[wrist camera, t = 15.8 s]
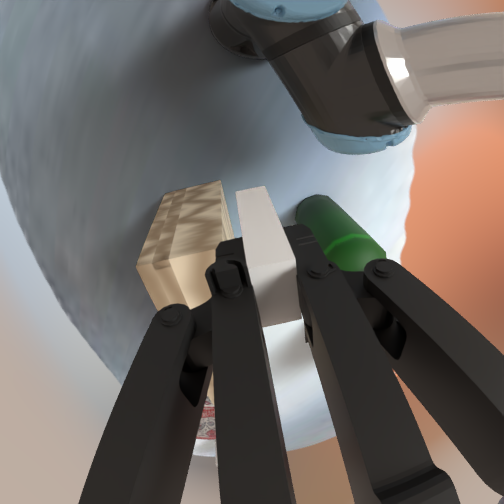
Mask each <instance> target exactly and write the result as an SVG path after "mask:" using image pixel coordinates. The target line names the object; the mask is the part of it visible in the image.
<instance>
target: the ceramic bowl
mask: <svg viewBox="0 0 504 504" xmlns="http://www.w3.org/2000/svg"><path fill="white" fill-rule="evenodd" d="M196 439H216V430H215V410H214V405H213V403H212V402H211V400H210V399H209V398H206V401H205V405H204V409H203V413H202V417H201V421H200V425H199V429H198V433H197V437H196Z"/></svg>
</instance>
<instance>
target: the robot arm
mask: <svg viewBox="0 0 504 504" xmlns="http://www.w3.org/2000/svg"><path fill="white" fill-rule="evenodd" d="M209 24H210V28H211V31H212V33H213V35H214V37H215V38H216V40H217V41H218V42H219V43H220V44H221V45H222V46H223V47H224V48H226V49H227V50H229V51H230V52H232V53H234V54H236V55H239V56H242V57H246V58H251V59H267V60H268V61H269V64H270V65H271V66H272V68H273V69H274V71H275V72H276V74H277V75H278V77H279V78H280V80H281V81H282V83H283V84H284V86H285V87H286V89H287V91H288V92H289V94H290V95H291V97H292V98H293V100H294V102H295V103H296V105H297V106H298V108H299V110H300V111H301V113H302V114H301V115H302V118H303V120H304V122H305V123H306V124H307V125H308V127H310V128H311V130H312V131H313V133H314V135H315V136H316V138H317V139H318V141H319V142H320V143H321V144H322V145H323V146H324V147H326V148H327V149H329V150H331V151H334V152H337V153H341V154H349V155H360V154H370V153H375V152H379V151H383V150H385V149H386V146H396V145H398V144H399V143H401V142H402V141H404V140H405V139H406V138H407V137H408V136H409V134H410V132H411V126H412V125H413V124H420V123H422V122H423V120H424V118H425V116H426V115H427V113H428V111H429V109H431V108H432V107H434V106H440V105H449V104H457V103H465V102H475V101H488V100H503V99H504V12H496V13H483V14H474V15H466V16H459V17H453V18H447V19H441V20H436V21H431V22H427V23H422V24H418V25H413V26H409V27H405V28H398V27H395V26H393V25H391V24H389V23H387V22H385V21H382V20H376V21H374V22H370V23H368V24H364V23H363V21H362V20H361V18H360V17H359V15H358V13H357V12H356V10H355V9H354V7H353V5H352V4H351V2H350V1H349V0H212V2H211V5H210V8H209ZM235 193H236V200H237V206H238V213H239V219H240V225H241V231H242V237H240V238H235V239H230V240H226V241H221V242H220V243H219V244H218V246H217V248H216V249H215V257H216V258H215V262H214V263H213V264H211V265H210V266H209V267H208V268H207V269H206V272H205V278H206V280H207V283H208V286H209V289H210V292H211V295H212V297H211V298H210V299H209V300H208V301H206V302H205V303H203V304H201V305H199V306H197V307H195V308H193V309H189V307H188V306H186V305H185V304H179V303H176V304H170V305H168V306H165V307H163V308H162V309H161V310H159V311H158V312H157V313H156V315H155V316H154V317H153V319H152V322H151V324H150V326H149V328H148V330H147V332H146V334H145V336H144V339H143V341H142V343H141V345H140V347H139V350H138V352H137V354H136V356H135V358H134V361H133V363H132V365H131V367H130V370H129V372H128V374H127V377H126V379H125V381H124V383H123V386H122V388H121V391H120V393H119V395H118V398H117V400H116V402H115V405H114V407H113V410H112V412H111V415H110V417H109V420H108V422H107V425H106V427H105V430H104V433H103V435H102V438H101V440H100V443H99V446H98V448H97V451H96V454H95V456H94V459H93V462H92V465H91V468H90V470H89V473H88V476H87V479H86V482H85V485H84V488H83V491H82V494H81V497H80V500H79V504H180V502H181V498H182V494H183V490H184V486H185V482H186V477H187V474H188V469H189V465H190V461H191V457H192V453H193V449H194V445H195V441H196V437H197V433H198V429H199V425H200V421H201V417H202V413H203V409H204V405H205V401H206V397H207V393H208V389H209V385H210V381H211V377H212V373H213V387H214V410H215V430H216V447H217V462H218V474H219V488H220V499H221V504H296V499H295V494H294V489H293V484H292V479H291V473H290V469H289V464H288V458H287V453H286V448H285V442H284V437H283V432H282V427H281V422H280V416H279V411H278V406H277V401H276V395H275V390H274V385H273V380H272V374H271V369H270V364H269V359H268V353H267V348H266V343H265V338H264V334H263V329H262V327H267V326H272V325H277V324H281V323H286V322H290V321H295V320H299V319H302V316H303V319H304V327H305V340H306V343H307V342H309V345H310V348H311V351H312V355H313V358H314V361H315V364H316V368H317V371H318V374H319V378H320V381H321V384H322V388H323V391H324V394H325V398H326V401H327V404H328V408H329V411H330V415H331V418H332V422H333V425H334V428H335V432H336V436H337V439H338V442H339V446H340V450H341V453H342V457H343V461H344V464H345V468H346V471H347V475H348V479H349V483H350V486H351V490H352V494H353V498H354V502H355V504H460V501H459V498H458V495H457V492H456V489H455V486H454V484H453V482H452V480H451V478H450V477H449V475H448V474H447V473H446V472H445V471H443V470H441V469H439V468H437V467H436V466H435V464H434V463H433V461H432V459H431V457H430V454H429V451H428V449H427V446H426V444H425V441H424V439H423V436H422V434H421V431H420V429H419V427H418V424H417V422H416V420H415V417H414V415H413V413H412V410H411V408H410V406H409V404H408V401H407V399H406V397H405V395H404V392H403V390H402V388H401V386H400V384H399V382H398V380H397V377H396V375H395V373H394V371H395V372H396V374H397V375H398V376H399V377H400V378H401V380H402V381H403V382H404V383H405V384H406V385H407V387H408V388H409V389H410V390H411V392H412V393H413V394H414V395H415V396H416V398H417V399H418V400H419V401H420V402H421V403H422V405H423V406H424V407H425V409H426V410H427V411H428V412H429V414H430V415H431V416H432V417H433V418H434V420H435V421H436V422H437V423H438V425H439V426H440V427H441V428H442V430H443V431H444V432H445V433H446V435H447V436H448V437H449V438H450V440H451V441H452V442H453V443H454V445H455V446H456V447H457V449H458V450H459V451H460V452H461V454H462V455H463V456H464V458H465V459H466V460H467V462H468V463H469V464H470V465H471V467H472V468H473V469H474V471H475V472H476V473H477V475H478V476H479V477H480V478H481V479H482V480H483V481H484V483H485V484H486V485H488V486H489V487H490V488H491V489H492V490H494V491H495V492H497V493H498V494H500V495H502V496H503V497H502V498H501V499H500V501H499V503H498V504H504V355H503V354H502V353H501V352H500V351H499V350H498V349H497V348H496V347H495V346H494V345H492V344H491V343H490V342H489V341H488V340H487V339H486V338H485V337H484V336H483V335H482V334H481V333H480V332H479V331H478V330H477V329H475V328H474V327H473V326H472V325H471V324H470V323H469V322H468V321H467V320H466V319H464V318H463V317H462V316H461V315H460V314H459V313H458V312H457V311H455V310H454V309H453V308H452V307H451V306H450V305H449V304H447V303H446V302H445V301H444V300H443V299H441V298H440V297H439V296H438V295H437V294H435V293H434V292H433V291H432V290H431V289H430V288H428V287H427V286H426V285H425V284H424V283H422V282H421V281H420V280H419V279H417V278H416V277H415V276H414V275H412V274H411V273H410V272H409V271H407V270H406V269H405V268H404V267H402V266H401V265H400V264H398V263H397V262H395V261H393V260H390V259H386V258H378V259H374V260H371V261H370V262H368V263H367V264H366V265H365V267H364V271H344V270H340V268H339V267H338V266H337V265H336V264H335V263H334V262H332V261H329V260H328V259H327V257H326V255H325V254H324V252H323V250H322V248H321V247H320V245H319V243H318V242H317V240H316V238H315V236H314V234H313V233H312V231H311V229H310V228H309V227H307V226H305V225H304V224H297V225H293V226H288V227H282V225H281V223H280V220H279V218H278V216H277V213H276V211H275V209H274V206H273V204H272V202H271V199H270V197H269V195H268V192H267V190H266V188H265V186H261V187H256V188H251V189H246V190H241V191H237V192H235ZM301 313H302V316H301ZM393 370H394V371H393Z"/></svg>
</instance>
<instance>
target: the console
mask: <svg viewBox="0 0 504 504" xmlns="http://www.w3.org/2000/svg"><path fill="white" fill-rule="evenodd" d="M230 239H235V238H234V233H233V229H232V225H231V221H230V217H229V213H228V209H227V205H226V201H225V197H224V193H223V188H222V184H221V180H218V181H214V182H210V183H205V184H201V185H197V186H193V187H189V188H185V189H181V190H177V191H173V192H169V193H166V194H165V195H164V197H163V200H162V202H161V204H160V206H159V209H158V211H157V214H156V216H155V218H154V221H153V223H152V226H151V228H150V230H149V233H148V235H147V238H146V241H145V243H144V246H143V248H142V251H141V254H140V256H139V259H138V262H137V264H136V268H137V270H138V273H139V275H140V277H141V279H142V281H143V283H144V285H145V287H146V289H147V291H148V293H149V295H150V297H151V299H152V301H153V303H154V305H155V307H156V309H157V310H158V311H159V310H161V309H162V308H163V307H165V306H168V305H170V304H176V303H179V304H185V305H186V306H188V307H189V309H193V308H195V307H197V306H199V305H201V304H203V303H205V302H206V301H208V300H209V299H210V298H211V297H212V295H211V292H210V289H209V286H208V283H207V280H206V278H205V272H206V269H207V268H208V267H209V266H210V265H211V264H213V263H214V262H215V258H216V257H215V249H216V248H217V246H218V244H219V243H220V242H221V241H226V240H230ZM207 396H208V397H209V399H210V400H211V402H212V403H213V405H214V387H213V373H212V377H211V381H210V385H209V389H208V393H207Z"/></svg>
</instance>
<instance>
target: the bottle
mask: <svg viewBox="0 0 504 504" xmlns="http://www.w3.org/2000/svg"><path fill="white" fill-rule="evenodd" d="M295 220H296V223H297V224H304V225H305V226H307V227H309V228H310V229H311V231H312V233H313V234H314V236H315V238H316V240H317V242H318V243H319V245H320V247H321V248H322V250H323V252H324V254H325V255H326V257H327V259H328V260H329V261H332V262H334V263H335V264H336V265H337V266H338V267H339V268H340V270H344V271H364V267H365V265H366V264H367V263H368V262H370V261H371V260H374V259H378V258H386V252H385V251H384V250H383V249H382V248H381V247H380V246H379V245H378V244H377V243H376V241H375V240H374V239H373V238H372V237H371V236H370V235H369V234H368V233H367V232H366V231H365V230H364V229H363V228H361V227H360V226H359V225H358V224H357V223H356V222H355V221H354V220H353V219H352V218H351V217H350V216H349V215H348V214H347V213H346V212H345V211H344V210H343V209H342V208H341V207H340V206H339V205H337V204H336V203H335V202H334V201H333V200H332V199H331V198H329V197H328V196H325V195H317V194H316V195H314V196H311V197H309V198H306V199H305V200H304V201H303V202H302V203H301V204H300V205H299V206H298V208H297V211H296V216H295ZM386 259H387V258H386Z"/></svg>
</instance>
